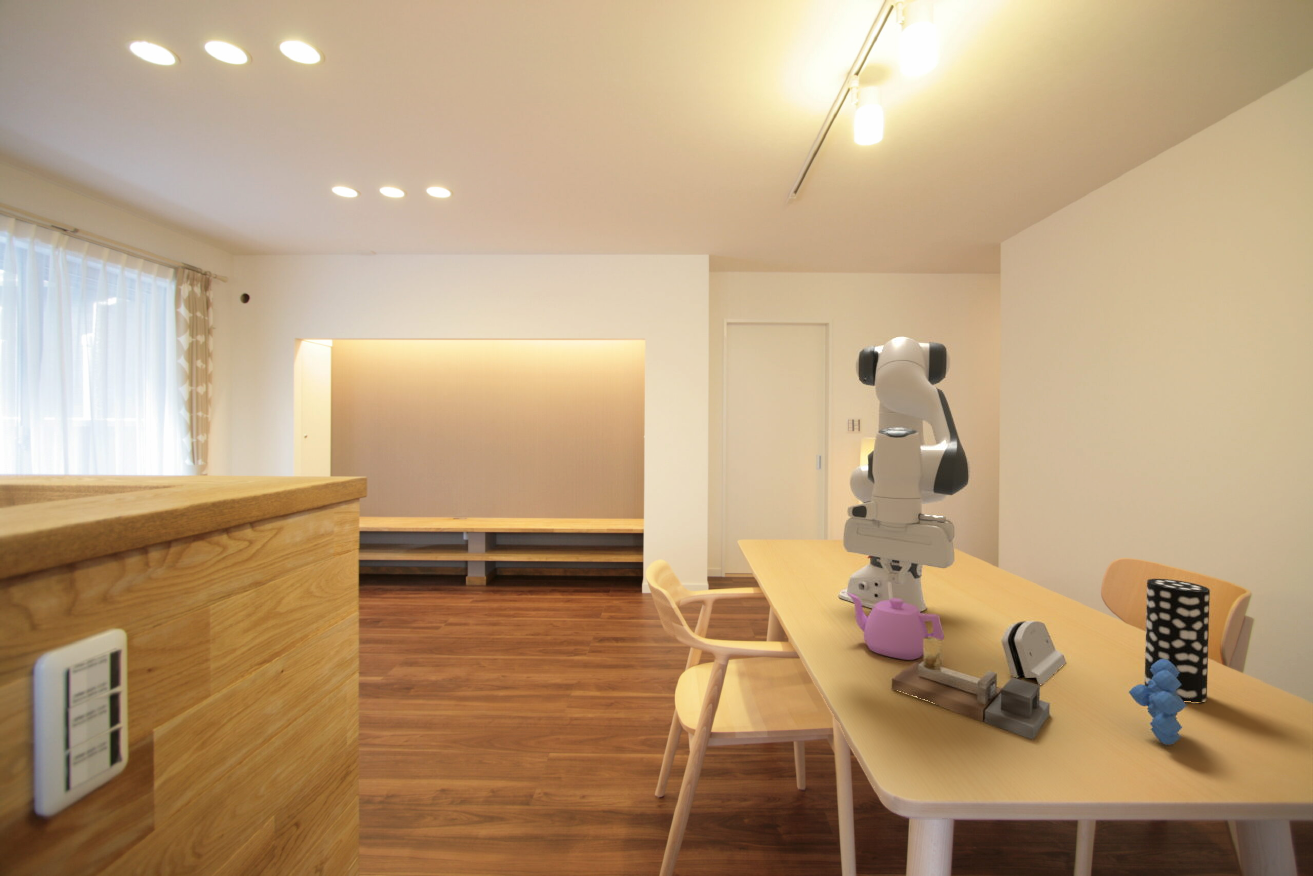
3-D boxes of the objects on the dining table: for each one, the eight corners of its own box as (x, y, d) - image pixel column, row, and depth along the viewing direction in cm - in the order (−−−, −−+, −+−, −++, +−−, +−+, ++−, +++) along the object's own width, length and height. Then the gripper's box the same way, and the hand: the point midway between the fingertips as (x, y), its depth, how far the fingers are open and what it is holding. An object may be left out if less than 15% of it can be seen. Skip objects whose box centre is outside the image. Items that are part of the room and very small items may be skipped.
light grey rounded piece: (1041, 686, 102) (1021, 631, 105) (1014, 686, 106) (995, 633, 108) (1067, 662, 113) (1048, 613, 115) (1041, 662, 116) (1024, 615, 119)
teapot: (854, 630, 131) (854, 584, 130) (947, 649, 119) (948, 599, 119) (837, 648, 120) (838, 598, 119) (938, 672, 108) (939, 616, 108)
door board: (891, 689, 100) (892, 660, 100) (915, 671, 108) (916, 644, 108) (1033, 739, 84) (1033, 705, 84) (1049, 714, 92) (1050, 683, 92)
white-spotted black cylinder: (1134, 686, 102) (1137, 581, 102) (1159, 678, 106) (1161, 576, 105) (1192, 707, 95) (1195, 593, 94) (1216, 698, 98) (1219, 588, 98)
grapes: (1127, 713, 93) (1128, 644, 92) (1182, 728, 88) (1183, 654, 88) (1128, 743, 84) (1130, 666, 84) (1189, 761, 79) (1191, 679, 79)
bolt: (917, 676, 101) (917, 638, 101) (923, 671, 103) (924, 634, 103) (990, 700, 92) (991, 659, 92) (995, 694, 94) (996, 654, 94)
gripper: (960, 515, 100) (959, 591, 100) (854, 504, 115) (853, 570, 115) (948, 519, 95) (947, 597, 95) (839, 507, 110) (839, 575, 110)
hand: (895, 582), depth 105 cm, fingers closed
